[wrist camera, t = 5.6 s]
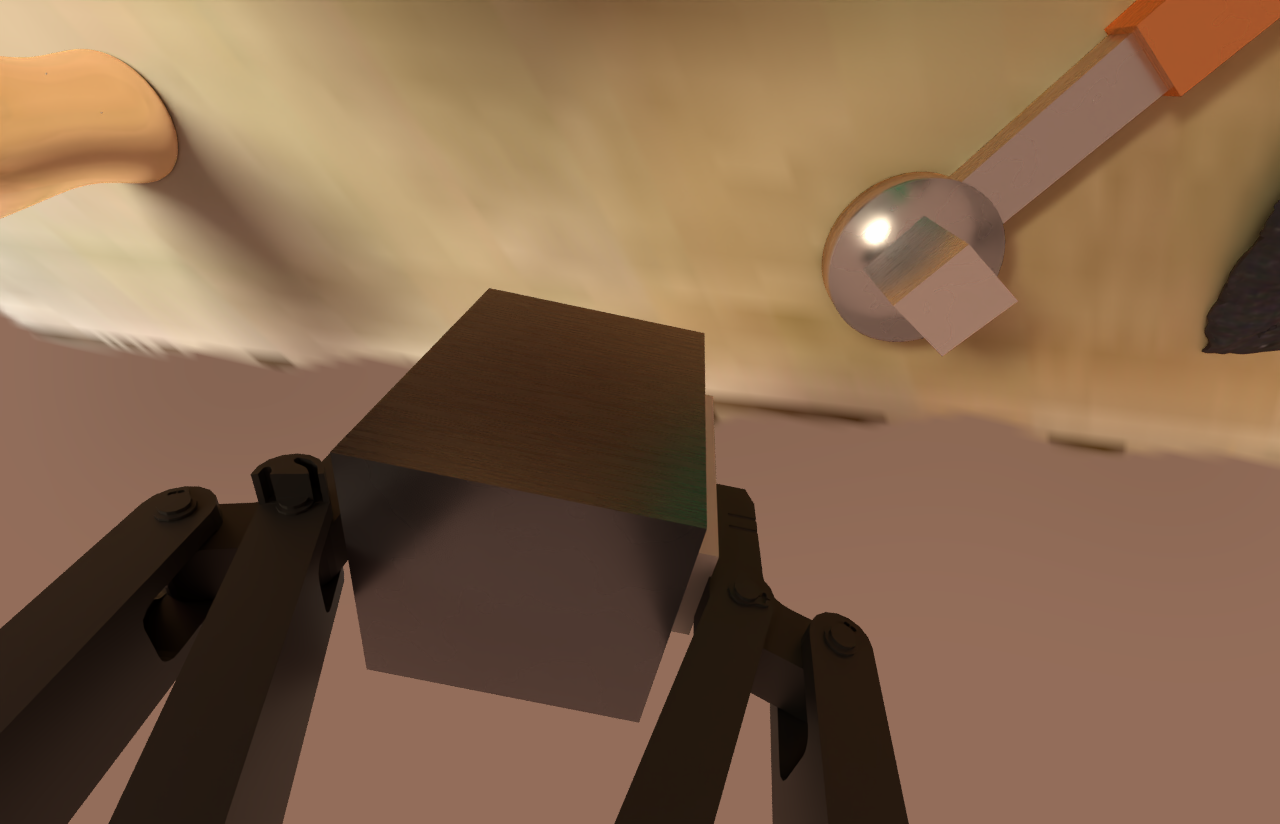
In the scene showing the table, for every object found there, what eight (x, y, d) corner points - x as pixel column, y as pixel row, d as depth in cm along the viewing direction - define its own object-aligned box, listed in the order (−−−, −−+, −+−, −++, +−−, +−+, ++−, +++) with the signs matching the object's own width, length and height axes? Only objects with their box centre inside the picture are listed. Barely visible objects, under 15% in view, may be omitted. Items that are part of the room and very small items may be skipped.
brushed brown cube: (484, 458, 19) (366, 668, 12) (489, 288, 16) (329, 451, 9) (660, 494, 19) (639, 722, 12) (704, 333, 16) (706, 528, 9)
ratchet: (884, 353, 31) (926, 419, 25) (789, 260, 29) (812, 309, 23) (1437, -75, 20) (1747, -137, 14) (1354, -281, 18) (1682, -458, 12)
